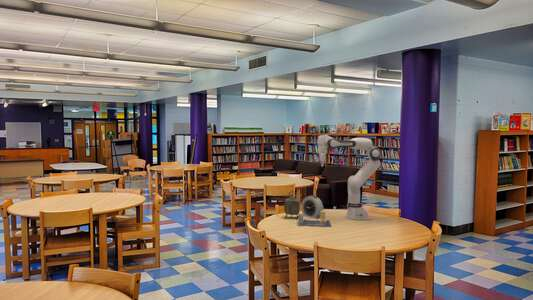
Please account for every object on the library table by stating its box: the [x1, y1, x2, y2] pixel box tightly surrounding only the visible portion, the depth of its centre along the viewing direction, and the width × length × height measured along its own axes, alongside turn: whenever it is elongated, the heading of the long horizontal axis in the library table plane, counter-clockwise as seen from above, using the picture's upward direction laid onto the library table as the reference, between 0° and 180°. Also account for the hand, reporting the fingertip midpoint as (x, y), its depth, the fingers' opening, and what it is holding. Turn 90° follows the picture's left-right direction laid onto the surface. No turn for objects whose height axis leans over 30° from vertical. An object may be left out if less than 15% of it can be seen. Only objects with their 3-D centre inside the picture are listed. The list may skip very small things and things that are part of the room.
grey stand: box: [304, 210, 328, 222], centre depth 336 cm, size 18×11×10 cm, turn 86°
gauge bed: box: [297, 213, 332, 228], centre depth 338 cm, size 28×16×7 cm, turn 86°
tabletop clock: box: [283, 190, 301, 219], centre depth 359 cm, size 14×9×25 cm, turn 84°
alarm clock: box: [300, 195, 324, 219], centre depth 368 cm, size 21×8×20 cm, turn 43°
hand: (322, 166), depth 365 cm, fingers open, 8 cm apart
